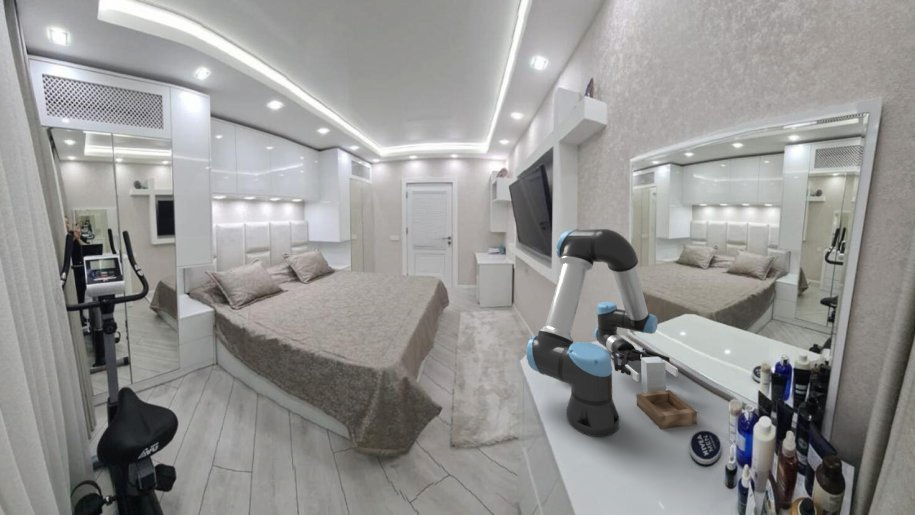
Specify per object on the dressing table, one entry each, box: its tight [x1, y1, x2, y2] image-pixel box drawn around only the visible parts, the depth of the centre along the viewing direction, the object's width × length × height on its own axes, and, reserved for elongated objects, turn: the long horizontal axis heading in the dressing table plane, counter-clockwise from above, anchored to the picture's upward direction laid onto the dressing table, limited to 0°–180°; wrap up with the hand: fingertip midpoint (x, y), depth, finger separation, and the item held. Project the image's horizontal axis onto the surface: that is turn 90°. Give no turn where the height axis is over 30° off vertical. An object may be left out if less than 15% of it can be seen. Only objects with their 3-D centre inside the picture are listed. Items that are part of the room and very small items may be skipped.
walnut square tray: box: [636, 389, 698, 430], centre depth 95 cm, size 11×11×4 cm
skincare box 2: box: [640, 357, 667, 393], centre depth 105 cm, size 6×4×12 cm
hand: (657, 375), depth 103 cm, fingers open, 13 cm apart
